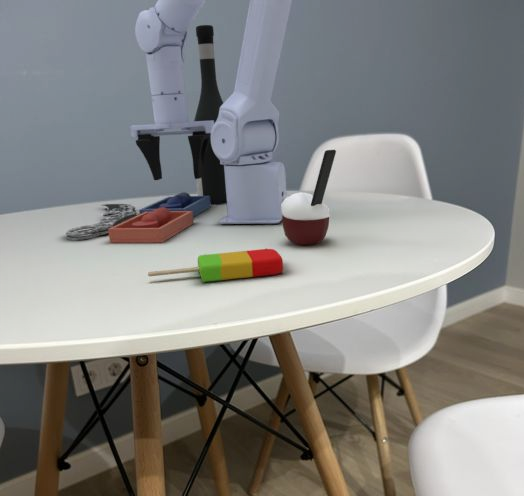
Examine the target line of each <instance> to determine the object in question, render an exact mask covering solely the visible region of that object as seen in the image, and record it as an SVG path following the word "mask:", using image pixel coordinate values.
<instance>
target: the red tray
mask: <svg viewBox="0 0 524 496" xmlns="http://www.w3.org/2000/svg"><path fill="white" fill-rule="evenodd" d="M147 213H150V212H144V213H142V214H140V213H139V214H138V215H137V214H136V215H137V216H135V217H133V218H131V219H129V220H127V221H124V222H122V223H120V224H118V225H116V226H114V227H112V228H109V229H108V232H109V233H108V238H109V243H111V244H112V243H113V244H120V243H122V244H123V243H128V244H129V243H131V244H132V243H133V244H138V243H139V244H142V243H146V244H147V243H148V244H150V243H151V244H156V243H157V244H160V243H161V244H163V243H164V242H166V241H168V240H170V239H171V238H173V237H174V236H176V235H178V234H179V233H180V232H182V231H184V230H185V229H187V228H188V227H190V226H192V225H193V224H194V217H193V212H192V211H170V213H171V219H170V221H169V222H168V223H166V224H164V225H163V226H161V227H159V228H132V223H134V222H138V221H141V220H142V217H143V216H144V215H145V214H147Z"/></svg>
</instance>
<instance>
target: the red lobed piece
mask: <svg viewBox="0 0 524 496" xmlns="http://www.w3.org/2000/svg"><path fill="white" fill-rule="evenodd" d="M170 219H171V213H170V211H169V210H168V209H167V208H164V207H161V208H158V209H156V210H154V211H152V212H150V213H147V214H145V215H144V216H143V217H142V220H141V221H138V222H134V223H132V228H159V227H161V226H163V225H164V224H166V223H168V222H169V221H170Z"/></svg>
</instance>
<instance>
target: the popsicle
mask: <svg viewBox="0 0 524 496" xmlns="http://www.w3.org/2000/svg"><path fill="white" fill-rule="evenodd" d="M283 260H284V259H283V257H282V255H281V254H280V253H279V252H278V251H277V250H276V249H274V248H262V249H251V250H241V251H231V252H220V253H211V254H210V253H209V254H201V255H198V256H197V266H196V267H195V266H194V267H185V268H174V269H165V270H153V271H149V272H147V276H148V277H159V276H168V275H169V276H170V275H178V274H187V273H196V272H199V275H200V278H201V281H202V282H203V283H208V282H217V281H225V280H227V281H229V280H236V279H247V278H254V277H255V278H256V277H265V276H274V275H279V274H281V273H282V272H283V270H284V262H283Z"/></svg>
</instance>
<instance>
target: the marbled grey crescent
mask: <svg viewBox="0 0 524 496" xmlns="http://www.w3.org/2000/svg"><path fill="white" fill-rule="evenodd" d="M101 206H102V207H105V208H106V209H107V210H106V212H104V213H103V214H102V216H103V218H101V219H100V221H99V222H97V223H94V224H89V225H88V224H87V225H82V226H81V225H80V226H76V227H73V228H70V229H68V230H67V231H66V232H65V235H66V240H69V241H83V240H88V239H91V238H94V237H98V236H103V235H107V234H109V232H108V229H109V228H112V227H114V226H116V225H118V224H120V223H122V222H124V221H127V220H129V219H131V218H133V217H135V216H137V211H136V207H135V206H133V205H132V204H128V203H108V204H107V203H106V204H101Z"/></svg>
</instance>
